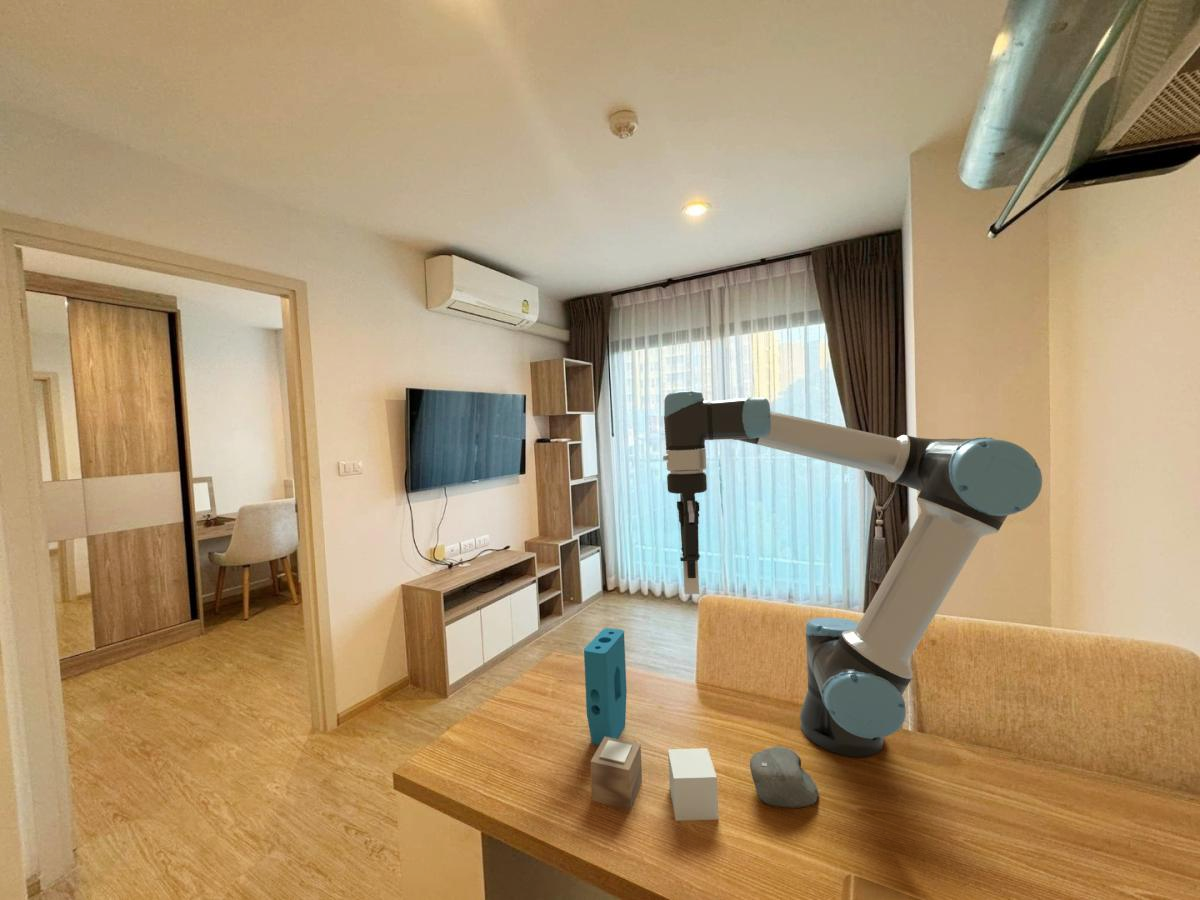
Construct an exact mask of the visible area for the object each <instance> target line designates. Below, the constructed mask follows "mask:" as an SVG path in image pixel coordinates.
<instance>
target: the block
mask: <svg viewBox="0 0 1200 900" xmlns="http://www.w3.org/2000/svg"><path fill="white" fill-rule="evenodd" d="M625 645H626V644H625V630H623V629H617V628H608V627H606V628H605V627H604V628H603V629H602V630H601V631H600V632H599V633H598V634H597V635H596V636H594V638H593V639H592V640H591V641H590V642H589V643H588V644H587V645H586V646H585V647H584V649H583V655H584V656H583V658H584V659H583V660H584V678H585V679H584V681H585V683H584V685H585V702H586V703H585V704H586V706H585V707H586V718H587V724H588V729H589V734H590V735H589V736H590V740H591V743H592V744H594V745H598V746H599V745H600V744H601V742H602V740H603V738H604V737H610V738H615V739H619V737H620V735H621V734H622V732H623V731H624V729H625V727H626V718H627V717H626V715H627V714H626V713H627V694H628V693H627V670H626V669H627V667H626V646H625Z"/></svg>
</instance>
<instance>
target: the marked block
mask: <svg viewBox="0 0 1200 900" xmlns="http://www.w3.org/2000/svg"><path fill="white" fill-rule="evenodd" d="M641 745H642V744H641V743H637V742H634V741H630V740H624V739H619V738H618V739H615V738H610V737H604V738H603V740H602V742H601V744H600V745H598V747H597V749H596V751H595V753H594V754H593V756H592V758H591V760H590V779H591V782H590V783H591V784H590V785H591V801H592V802H594V803H599V804H603V805H607V806H611V807H614V808H618V809H621V810H625V811H629V812H631V811H632V809H633V807H634V806H633V805H634V804H635V801H636V798H637V796H638V794H639V790H640V789H641V785H642V783H643V772H642V771H643V769H642V768H643V767H642V746H641Z"/></svg>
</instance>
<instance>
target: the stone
mask: <svg viewBox="0 0 1200 900" xmlns="http://www.w3.org/2000/svg"><path fill="white" fill-rule="evenodd" d="M749 766H750V773H751V777H752V780H753V784H754V787H755V791H756V792H757V794H758V798H760V799H761V801H762V802H763V803H765V804H767V805H769V806H771V807H772V806H773V807H779V808H789V809H791V808H795V809H797V808H805V807H808V806H812V805H813V804H816V803H817V801H818V800H817V799H818V797H819V796H820V792H818V791H819V790H818V787H817V785H816V782H814V780H813V778H812V777H811V775H810V774H809V773H808V772H806V770H804V769H803V768H802V759H801V757H800V756H799V755H798V754H797V753H796V751H793V750H792V749H791V748H787V747H785V746H779V745H778V746H773V747H770V748H765V749H763V750H760V751H758V752H755V753H754V754H753V755H752V756H751V757H750V760H749Z"/></svg>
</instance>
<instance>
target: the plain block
mask: <svg viewBox="0 0 1200 900" xmlns="http://www.w3.org/2000/svg"><path fill="white" fill-rule="evenodd" d="M667 753H668V754H667V756H668V777H669V778H668V779H669V793H670V797H671V803H672V810H673V813H674V819H675V820H674V821H676V822H677V821H678V822H679V821H708V820H709V821H711V820H716V821H717V820H719V819H720V817H719V797H718V796H719V795H718V793H719V792H718V776H717V772H716V769H715V767H714V764H713V761H712V758H711V754H710V752H709V749H708V748H707V747H706V748H705V747H703V748H702V747H701V748H676V749H675V748H672V749H667Z"/></svg>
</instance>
